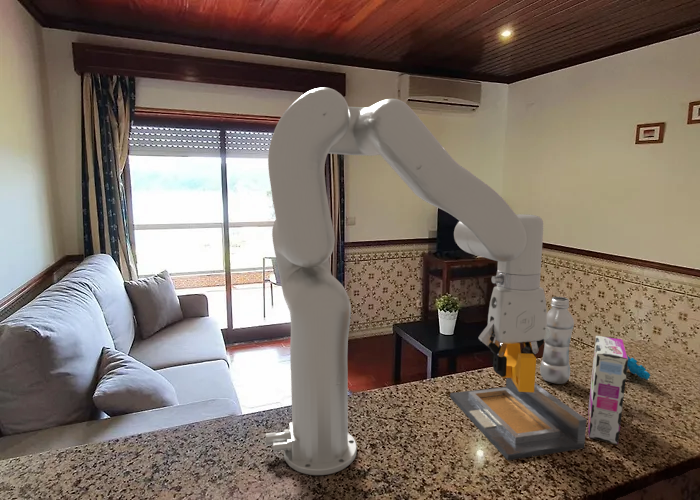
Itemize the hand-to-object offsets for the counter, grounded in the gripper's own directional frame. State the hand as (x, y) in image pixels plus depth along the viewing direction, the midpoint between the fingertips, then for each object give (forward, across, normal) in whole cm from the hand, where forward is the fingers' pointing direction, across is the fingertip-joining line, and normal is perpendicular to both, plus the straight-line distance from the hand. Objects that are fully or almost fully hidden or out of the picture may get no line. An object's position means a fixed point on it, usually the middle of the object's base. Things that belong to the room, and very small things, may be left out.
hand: (513, 371), depth 83 cm
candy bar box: (+11, +16, -6) cm, 20 cm away
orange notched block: (+1, 0, 0) cm, 1 cm away
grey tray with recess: (+10, 0, 0) cm, 10 cm away
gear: (+11, +38, +11) cm, 41 cm away
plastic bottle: (+11, +20, +13) cm, 26 cm away
